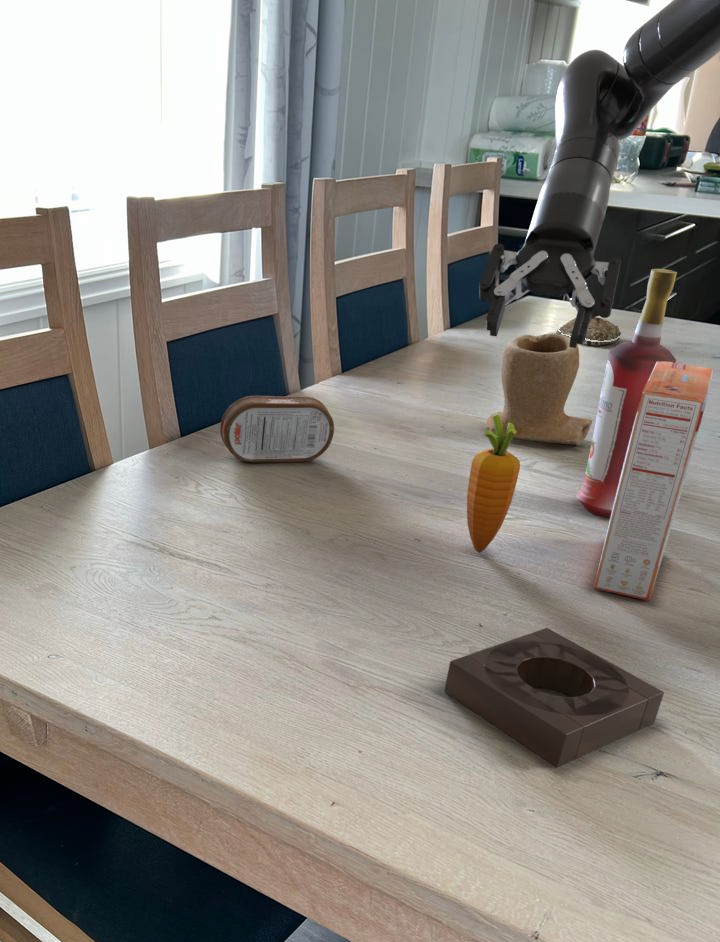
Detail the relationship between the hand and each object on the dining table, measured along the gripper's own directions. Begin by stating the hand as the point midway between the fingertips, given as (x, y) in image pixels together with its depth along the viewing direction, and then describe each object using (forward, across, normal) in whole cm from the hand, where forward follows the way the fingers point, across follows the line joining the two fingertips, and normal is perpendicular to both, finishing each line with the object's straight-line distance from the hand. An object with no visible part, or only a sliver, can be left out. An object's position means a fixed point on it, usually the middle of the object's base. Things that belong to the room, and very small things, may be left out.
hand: (532, 337), depth 105 cm
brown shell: (-66, -1, +96) cm, 117 cm away
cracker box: (+20, +15, +10) cm, 27 cm away
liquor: (+8, +11, +23) cm, 26 cm away
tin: (+11, -30, +19) cm, 37 cm away
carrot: (+23, 0, +8) cm, 24 cm away
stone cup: (-10, 0, +40) cm, 41 cm away
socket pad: (+43, +11, -13) cm, 46 cm away
